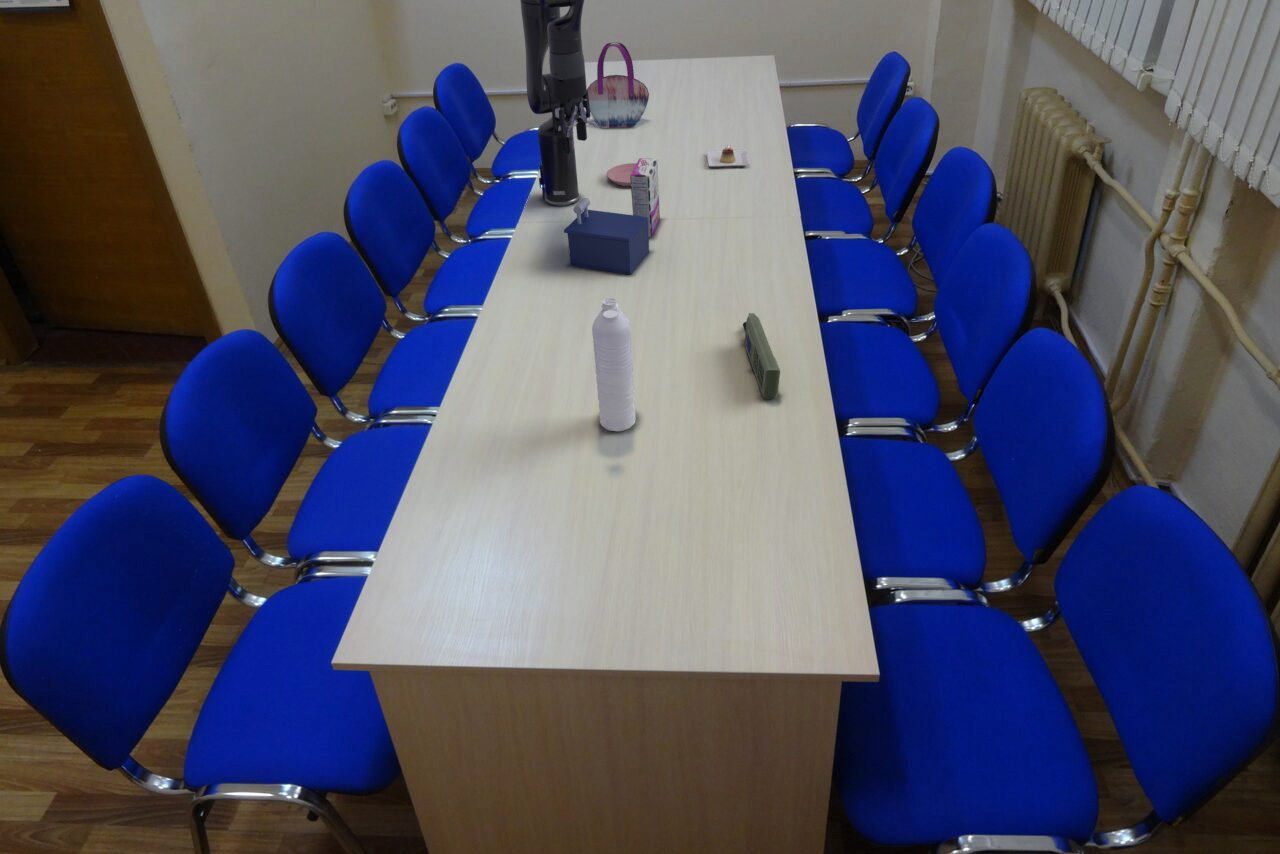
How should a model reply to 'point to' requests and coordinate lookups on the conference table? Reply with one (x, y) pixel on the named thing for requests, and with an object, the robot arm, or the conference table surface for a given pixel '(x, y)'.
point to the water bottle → (614, 367)
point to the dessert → (728, 158)
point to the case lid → (604, 223)
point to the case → (609, 252)
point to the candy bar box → (646, 192)
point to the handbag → (617, 95)
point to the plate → (621, 174)
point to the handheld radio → (761, 357)
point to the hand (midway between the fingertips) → (574, 146)
